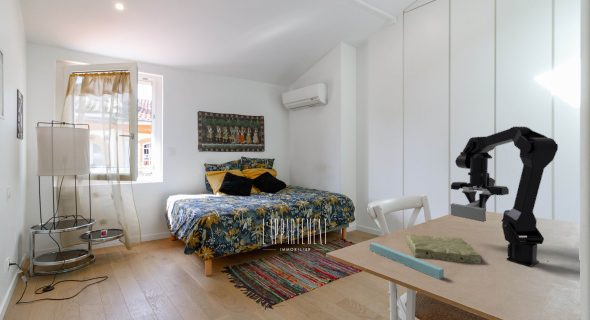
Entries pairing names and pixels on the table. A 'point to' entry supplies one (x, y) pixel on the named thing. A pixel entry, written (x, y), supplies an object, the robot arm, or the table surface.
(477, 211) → the grey piece
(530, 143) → the robot arm
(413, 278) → the table surface
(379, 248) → the bar
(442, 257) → the decorative tile
